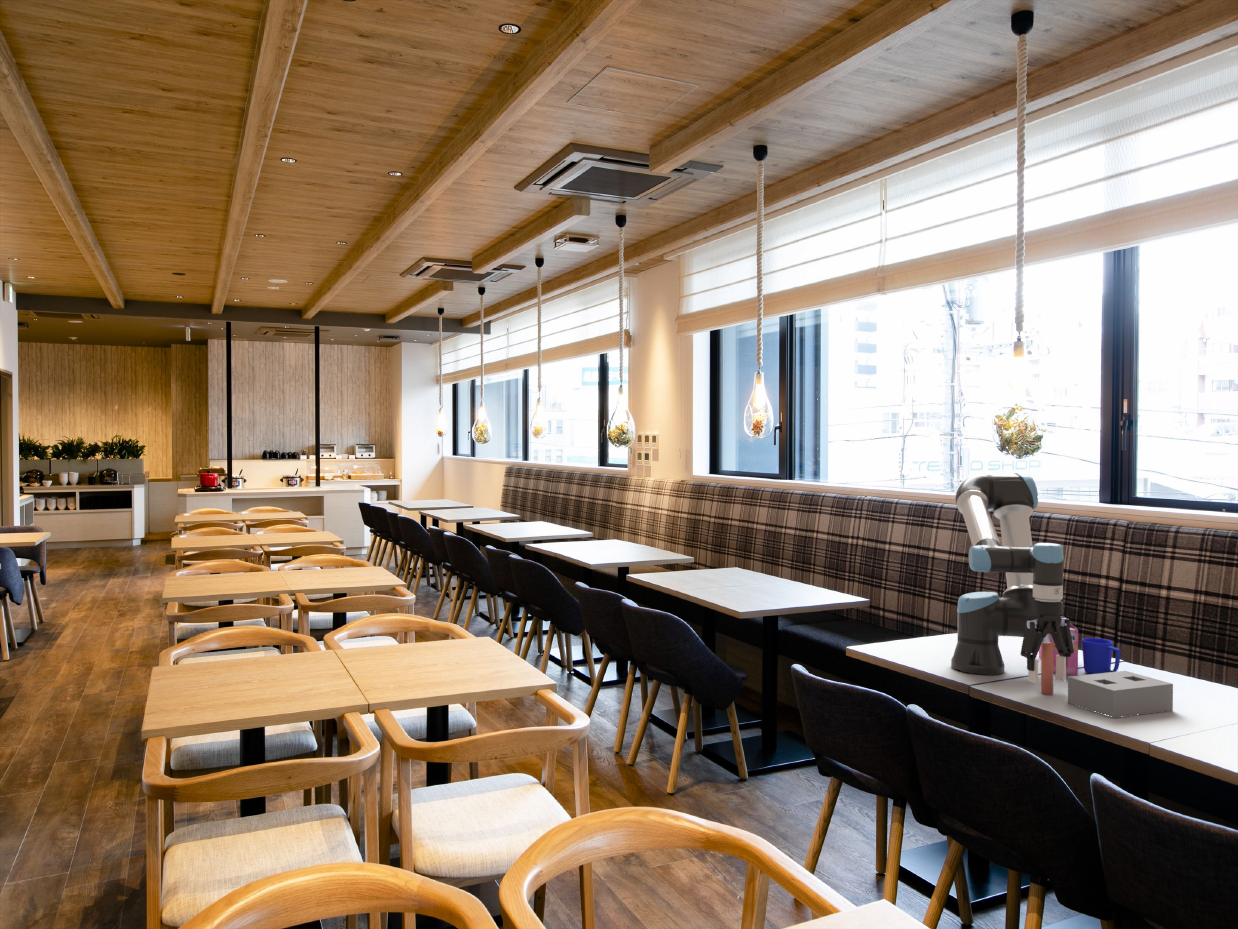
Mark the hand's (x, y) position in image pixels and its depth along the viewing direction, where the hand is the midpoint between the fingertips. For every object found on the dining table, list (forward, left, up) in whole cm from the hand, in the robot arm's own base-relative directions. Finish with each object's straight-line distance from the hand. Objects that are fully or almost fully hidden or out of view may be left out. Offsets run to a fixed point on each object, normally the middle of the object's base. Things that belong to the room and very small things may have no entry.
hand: (1047, 680), depth 237 cm
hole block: (+16, +8, -3) cm, 18 cm away
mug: (-10, +31, -4) cm, 33 cm away
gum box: (-24, +29, -4) cm, 38 cm away
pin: (0, 0, -3) cm, 3 cm away
